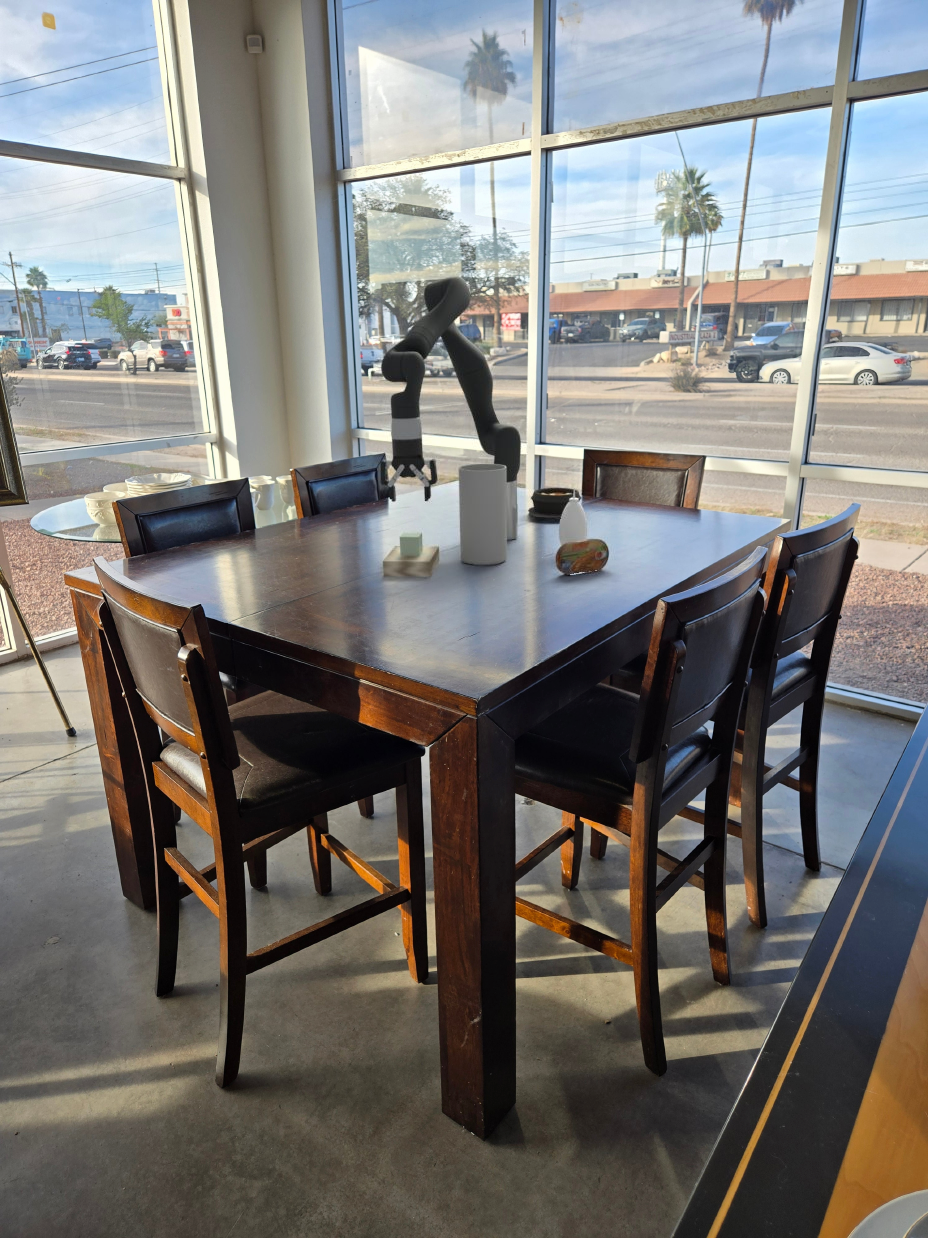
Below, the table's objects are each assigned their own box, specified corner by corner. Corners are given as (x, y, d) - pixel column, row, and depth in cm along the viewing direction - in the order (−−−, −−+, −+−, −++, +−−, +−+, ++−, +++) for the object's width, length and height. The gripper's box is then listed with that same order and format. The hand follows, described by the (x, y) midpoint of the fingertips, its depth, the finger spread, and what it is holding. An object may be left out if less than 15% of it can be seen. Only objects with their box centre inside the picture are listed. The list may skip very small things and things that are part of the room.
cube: (422, 551, 210) (422, 532, 208) (419, 555, 205) (418, 536, 204) (404, 550, 210) (403, 532, 209) (400, 555, 206) (399, 536, 204)
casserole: (568, 525, 254) (568, 499, 251) (515, 520, 262) (515, 495, 260) (594, 511, 275) (595, 486, 272) (544, 507, 283) (544, 483, 280)
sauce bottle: (586, 557, 216) (588, 491, 210) (557, 556, 217) (558, 490, 211) (587, 550, 223) (589, 486, 217) (559, 549, 225) (561, 485, 219)
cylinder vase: (483, 552, 224) (482, 462, 216) (516, 559, 215) (516, 466, 207) (451, 560, 216) (448, 467, 207) (484, 568, 207) (482, 472, 199)
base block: (439, 560, 216) (438, 546, 215) (430, 576, 201) (429, 561, 200) (395, 560, 217) (395, 545, 216) (383, 576, 202) (382, 561, 201)
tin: (560, 578, 198) (560, 545, 195) (553, 575, 200) (553, 542, 198) (609, 569, 204) (610, 537, 201) (601, 567, 207) (602, 535, 204)
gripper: (437, 434, 201) (439, 497, 206) (381, 435, 202) (385, 498, 208) (432, 437, 194) (435, 503, 199) (375, 438, 195) (379, 504, 200)
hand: (410, 500), depth 203 cm, fingers open, 8 cm apart
